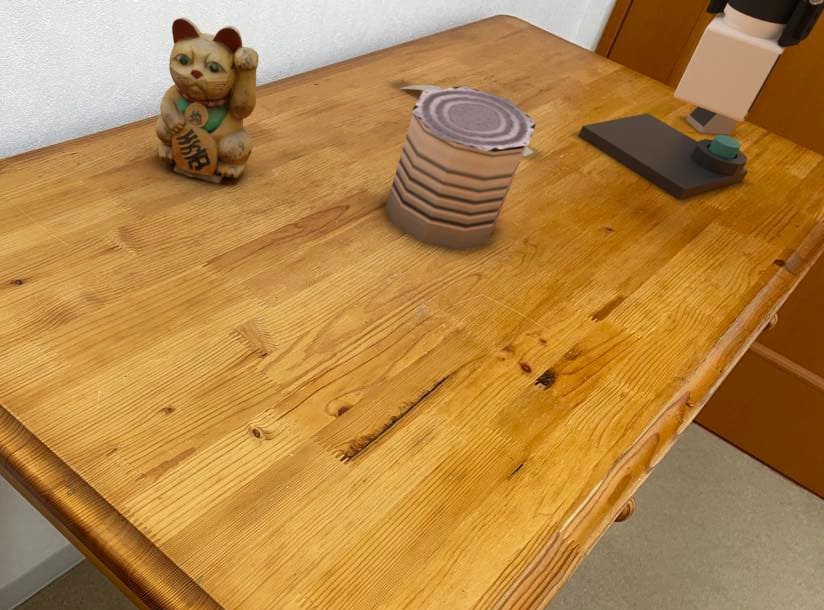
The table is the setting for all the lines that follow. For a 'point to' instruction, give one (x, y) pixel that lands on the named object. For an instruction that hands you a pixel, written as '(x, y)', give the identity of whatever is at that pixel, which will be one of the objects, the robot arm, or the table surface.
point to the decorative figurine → (207, 103)
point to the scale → (665, 155)
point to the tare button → (724, 146)
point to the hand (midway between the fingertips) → (751, 26)
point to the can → (457, 166)
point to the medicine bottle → (736, 56)
